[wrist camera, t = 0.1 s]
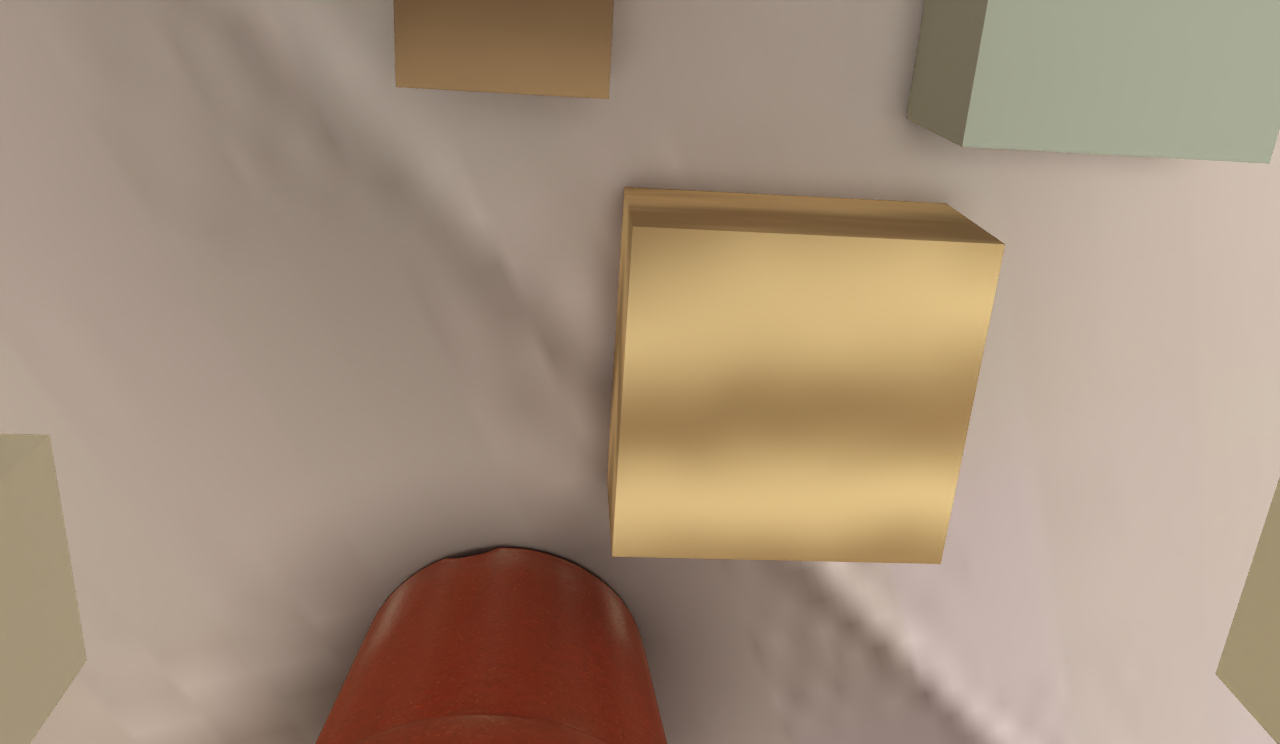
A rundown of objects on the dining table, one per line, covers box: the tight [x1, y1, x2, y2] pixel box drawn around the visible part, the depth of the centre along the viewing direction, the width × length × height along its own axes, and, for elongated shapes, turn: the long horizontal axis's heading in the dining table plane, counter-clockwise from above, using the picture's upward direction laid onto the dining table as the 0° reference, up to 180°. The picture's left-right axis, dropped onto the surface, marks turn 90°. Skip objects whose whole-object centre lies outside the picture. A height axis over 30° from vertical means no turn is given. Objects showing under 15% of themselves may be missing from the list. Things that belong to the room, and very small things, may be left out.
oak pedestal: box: [607, 187, 1005, 564], centre depth 38 cm, size 12×12×6 cm
